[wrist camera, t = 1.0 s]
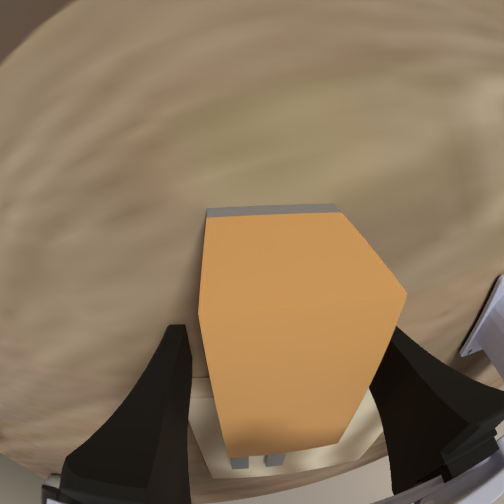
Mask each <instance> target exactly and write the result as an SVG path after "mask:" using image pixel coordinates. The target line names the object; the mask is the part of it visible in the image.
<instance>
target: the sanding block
mask: <svg viewBox="0 0 504 504" xmlns="http://www.w3.org/2000/svg"><path fill="white" fill-rule="evenodd" d="M406 297H407V292H406V291H405V290H404V288H403V287H402V286H401V284H400V283H399V282H398V280H397V279H396V278H395V277H394V275H393V274H392V273H391V271H390V270H389V269H388V268H387V266H386V265H385V264H384V262H383V261H382V260H381V259H380V257H379V256H378V255H377V254H376V253H375V251H374V250H373V249H372V248H371V246H370V245H369V244H368V243H367V242H366V240H365V239H364V238H363V237H362V236H361V234H360V233H359V232H358V231H357V230H356V228H355V227H354V226H353V225H352V224H351V223H350V221H349V220H348V219H347V218H346V217H345V216H344V215H343V213H342V212H341V211H340V210H339V209H338V208H337V207H336V206H335V204H298V205H267V206H244V207H224V208H208V209H207V218H206V228H205V238H204V248H203V259H202V271H201V283H200V296H199V310H198V316H199V321H200V327H201V333H202V339H203V344H204V349H205V355H206V360H207V365H208V370H209V375H210V380H211V385H212V390H213V394H214V399H215V404H216V408H217V413H218V417H219V422H220V426H221V430H222V434H223V438H224V443H225V447H226V451H227V455H228V458H235V457H250V456H261V455H271V454H279V453H287V452H294V451H301V450H307V449H313V448H318V447H323V446H328V445H333V444H338V442H339V441H340V439H341V437H342V436H343V434H344V432H345V431H346V429H347V427H348V425H349V424H350V422H351V420H352V418H353V416H354V415H355V413H356V411H357V409H358V407H359V405H360V403H361V402H362V400H363V398H364V396H365V394H366V392H367V390H368V388H369V386H370V384H371V382H372V380H373V378H374V375H375V373H376V371H377V369H378V367H379V365H380V362H381V360H382V358H383V356H384V353H385V351H386V349H387V347H388V344H389V342H390V339H391V337H392V334H393V332H394V330H395V327H396V324H397V322H398V319H399V317H400V314H401V311H402V309H403V306H404V303H405V300H406Z"/></svg>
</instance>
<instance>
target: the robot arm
mask: <svg viewBox="0 0 504 504" xmlns="http://www.w3.org/2000/svg"><path fill="white" fill-rule="evenodd" d="M480 350H484V352H485V353H486V355H487V356H488V357H489V359H490V360H491V362H492V363H493V365H494V366H495V368H496V369H497V371H498V372H499V374H500V376H501V377H502V379H503V380H504V274H503V275H501V276H500V277H499V278H498V280H497V282H496V284H495V287H494V289H493V291H492V293H491V295H490V297H489V299H488V301H487V303H486V305H485V307H484V309H483V311H482V313H481V315H480V317H479V319H478V321H477V323H476V325H475V326H474V328H473V330H472V332H471V334H470V335H469V337H468V339H467V340H466V342H465V344H464V345H463V347H462V349H461V350H460V355H461V357H464V356H467V355H469V354H472V353H475V352H477V351H480ZM191 388H192V355H191V351H190V346H189V341H188V336H187V331H186V326H185V324H182V325H169V326H168V327H167V329H166V331H165V334H164V336H163V338H162V340H161V342H160V344H159V346H158V348H157V350H156V352H155V353H154V355H153V357H152V359H151V361H150V362H149V364H148V366H147V368H146V369H145V371H144V372H143V374H142V376H141V377H140V379H139V380H138V382H137V383H136V385H135V386H134V388H133V389H132V391H131V392H130V393H129V395H128V396H127V397H126V399H125V400H124V401H123V403H122V404H121V405H120V406H119V408H118V409H117V410H116V411H115V412H114V413H113V415H112V416H111V417H110V418H109V419H108V420H107V421H106V422H105V423H104V424H103V425H102V426H101V427H100V428H99V429H98V430H97V431H96V432H95V433H94V434H93V435H92V436H91V437H90V438H89V439H88V440H87V441H86V442H84V443H83V444H82V445H81V446H79V447H78V448H77V449H76V450H74V451H73V452H72V453H71V454H69V455H68V456H67V457H66V459H65V462H64V465H63V468H62V473H61V479H60V485H59V489H60V490H61V492H62V493H64V494H66V495H67V496H69V497H71V498H73V499H75V500H77V501H79V502H81V503H82V504H191V498H190V487H189V474H188V455H187V427H188V417H189V407H190V397H191ZM369 390H370V392H371V394H372V397H373V399H374V402H375V404H376V407H377V409H378V412H379V415H380V419H381V423H382V427H383V431H384V435H385V440H386V444H387V450H388V456H389V461H390V470H391V481H392V491H393V494H394V496H392V497H389V498H386V499H383V500H380V501H377V502H374V503H371V504H412V503H414V502H415V503H414V504H491V503H492V502H494V501H495V500H496V499H497V498H498V497H499V496H500V495H502V494H503V493H504V435H503V436H502V437H500V438H499V439H498V440H497V441H496V440H495V438H494V436H496V435H497V432H496V430H495V427H497V426H498V424H500V423H501V422H502V421H503V420H504V391H502V390H499V389H496V388H493V387H489V386H487V385H484V384H482V383H480V382H477V381H475V380H473V379H471V378H469V377H467V376H465V375H463V374H461V373H459V372H457V371H455V370H454V369H452V368H450V367H449V366H447V365H446V364H444V363H443V362H441V361H439V360H438V359H437V358H435V357H434V356H432V355H431V354H430V353H428V352H427V351H426V350H424V349H423V348H422V347H420V346H419V345H418V344H417V343H416V342H414V341H413V340H412V339H411V338H410V337H408V336H407V335H406V334H405V333H404V332H403V331H401V330H400V329H399V328H398V327H397V326H396V327H395V330H394V332H393V334H392V337H391V339H390V342H389V344H388V347H387V349H386V351H385V353H384V356H383V358H382V360H381V362H380V365H379V367H378V369H377V371H376V373H375V375H374V378H373V380H372V382H371V384H370V386H369ZM46 504H65V503H62V502H59V501H56V500H53V499H50V498H48V499H47V503H46Z"/></svg>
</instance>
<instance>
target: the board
mask: <svg viewBox="0 0 504 504" xmlns="http://www.w3.org/2000/svg"><path fill="white" fill-rule="evenodd" d="M188 420H189V422H190V425H191V428H192V430H193V433H194V435H195V438H196V440H197V443H198V445H199V448H200V450H201V453H202V455H203V457H204V460H205V462H206V464H207V467H208V469H209V471H210V473H211V476H212V478H213V479H225V478H246V477H259V476H270V475H278V474H286V473H293V472H300V471H306V470H312V469H317V468H323V467H328V466H332V465H337V464H341V463H346V462H350V461H354V460H358V459H359V458H360V457H361V456H362V455H363V454H364V453H365V451H366V450H367V449H368V448H369V447H370V446H371V444H372V443H373V442H374V441H375V440H376V439H377V437H378V436H379V435H380V434H381V432H382V431H383V427H382V423H381V419H380V415H379V412H378V409H377V407H376V404H375V402H374V399H373V397H372V394H371V392H370V390H369V388H368V390H367V392H366V394H365V396H364V398H363V400H362V402H361V403H360V405H359V407H358V409H357V411H356V413H355V415H354V416H353V418H352V420H351V422H350V424H349V425H348V427H347V429H346V431H345V432H344V434H343V436H342V437H341V439H340V441H339V442H338V444H333V445H328V446H323V447H318V448H313V449H307V450H301V451H294V452H287V453H286V455H285V458H284V462H283V465H280V466H271V467H266V466H265V457H266V455H261V456H250V457H249V469H232V467H231V462H230V458H228V455H227V451H226V447H225V443H224V438H223V434H222V430H221V426H220V422H219V417H218V413H217V408H216V404H215V399H214V394H213V390H212V385H211V380H210V378H192V388H191V397H190V407H189V417H188Z"/></svg>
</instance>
